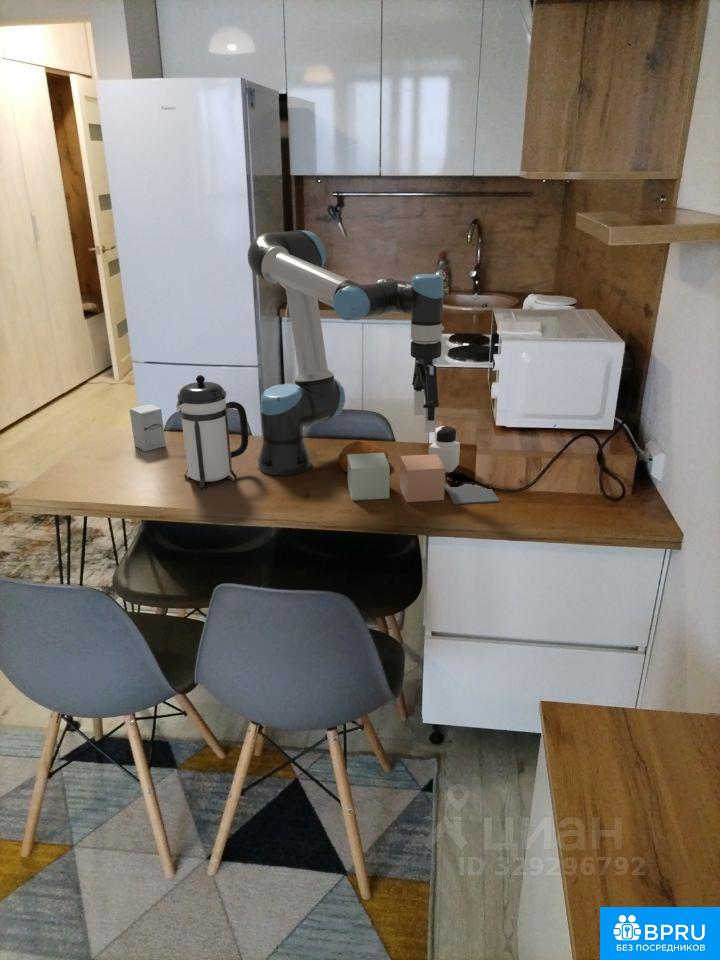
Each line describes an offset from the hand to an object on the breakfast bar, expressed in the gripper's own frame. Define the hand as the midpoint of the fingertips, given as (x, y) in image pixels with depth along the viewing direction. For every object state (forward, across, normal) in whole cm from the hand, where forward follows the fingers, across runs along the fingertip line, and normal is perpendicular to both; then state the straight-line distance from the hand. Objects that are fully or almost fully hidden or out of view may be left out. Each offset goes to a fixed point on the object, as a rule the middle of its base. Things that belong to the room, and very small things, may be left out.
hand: (423, 423), depth 177 cm
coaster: (+20, -2, -13) cm, 24 cm away
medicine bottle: (+20, +17, -10) cm, 28 cm away
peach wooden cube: (+20, 0, 0) cm, 20 cm away
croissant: (+20, +21, +13) cm, 32 cm away
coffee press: (+20, +18, +56) cm, 62 cm away
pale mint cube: (+20, +3, +14) cm, 24 cm away
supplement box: (+20, +46, +78) cm, 93 cm away
